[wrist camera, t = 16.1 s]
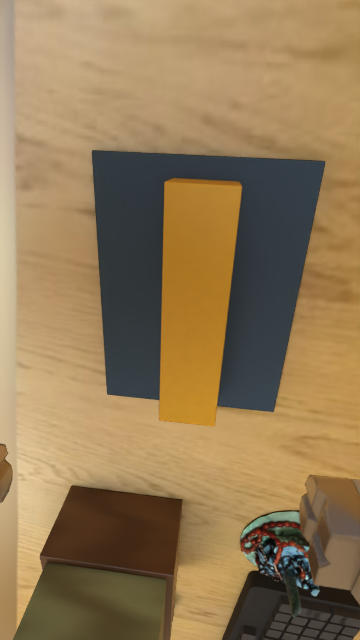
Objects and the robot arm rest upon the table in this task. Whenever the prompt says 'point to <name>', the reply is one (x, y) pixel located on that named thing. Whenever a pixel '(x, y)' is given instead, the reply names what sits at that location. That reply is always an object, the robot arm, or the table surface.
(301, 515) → the robot arm
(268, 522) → the dish
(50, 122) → the table surface
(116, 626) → the tower
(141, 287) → the mat
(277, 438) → the table surface
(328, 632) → the keyboard
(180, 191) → the bar
